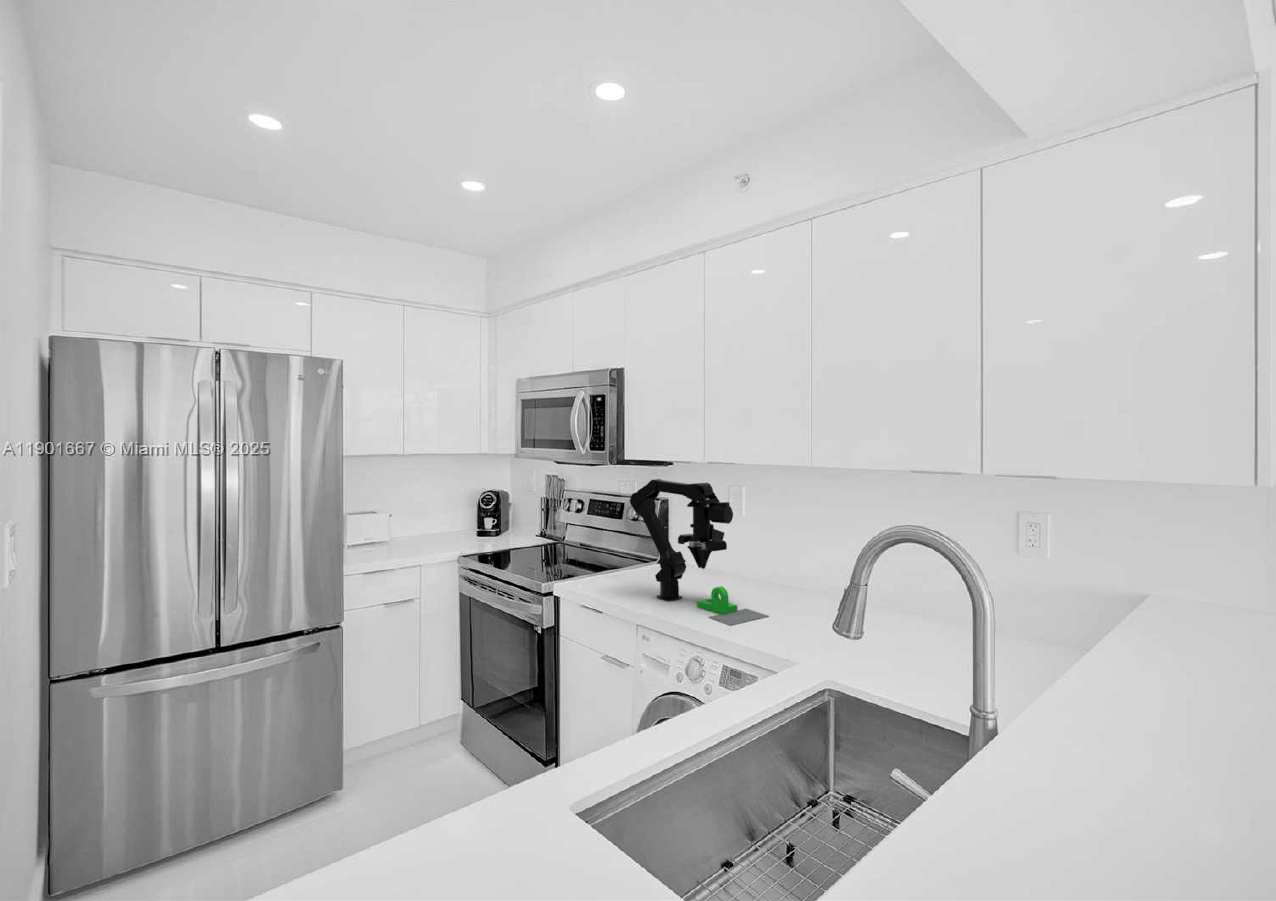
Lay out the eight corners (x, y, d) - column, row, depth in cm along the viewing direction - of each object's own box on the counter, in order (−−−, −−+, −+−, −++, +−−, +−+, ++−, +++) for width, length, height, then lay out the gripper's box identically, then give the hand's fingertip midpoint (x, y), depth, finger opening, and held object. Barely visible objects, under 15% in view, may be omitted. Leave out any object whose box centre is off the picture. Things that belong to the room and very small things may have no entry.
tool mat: (708, 617, 190) (708, 616, 190) (746, 609, 199) (746, 608, 199) (730, 625, 182) (730, 625, 182) (769, 616, 191) (769, 615, 191)
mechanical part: (737, 611, 196) (736, 586, 196) (724, 614, 192) (723, 589, 192) (710, 603, 205) (709, 579, 205) (697, 607, 202) (696, 582, 201)
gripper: (739, 522, 201) (739, 570, 201) (702, 516, 216) (702, 560, 217) (713, 525, 195) (713, 574, 195) (676, 518, 210) (677, 564, 211)
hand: (701, 568), depth 205 cm, fingers closed
